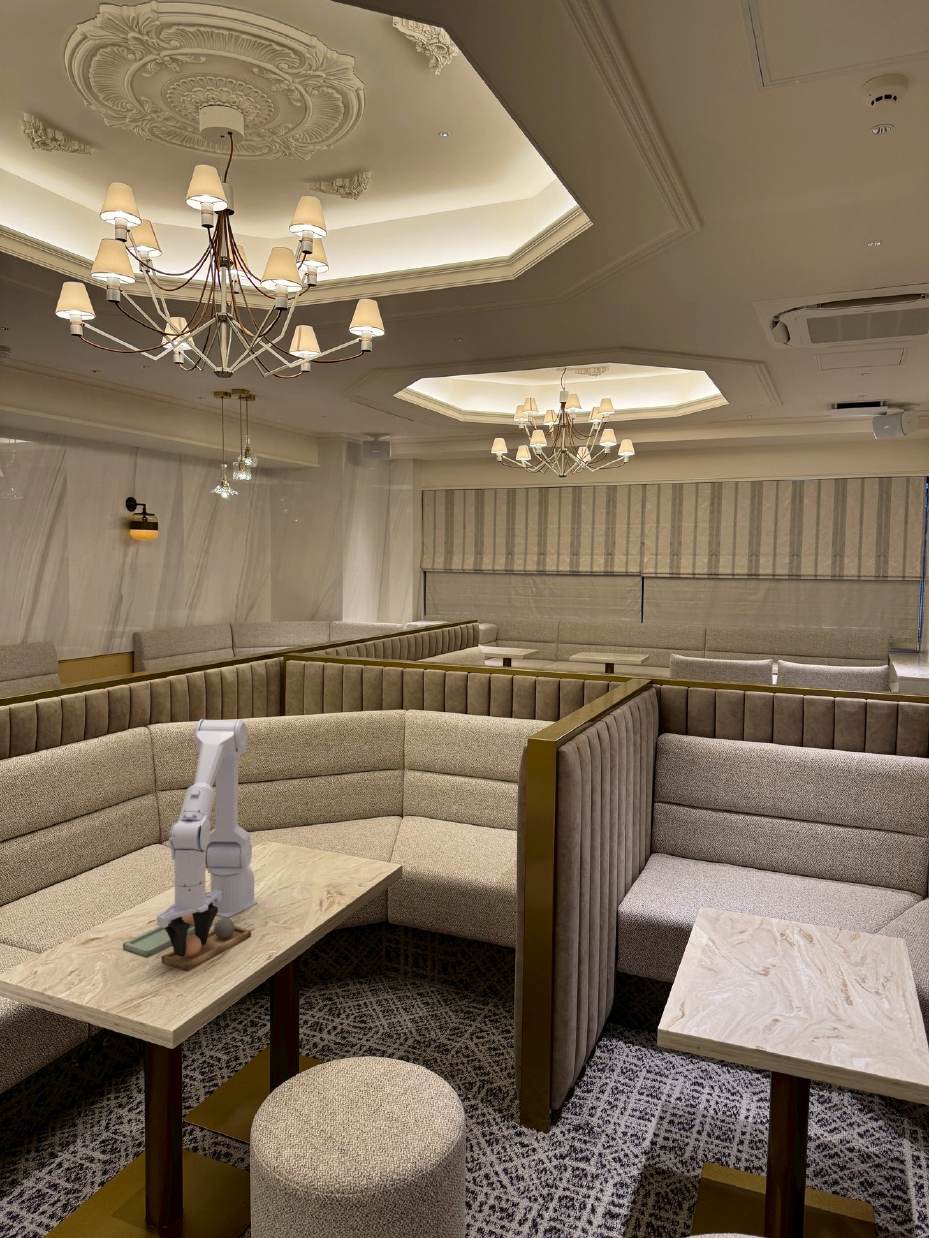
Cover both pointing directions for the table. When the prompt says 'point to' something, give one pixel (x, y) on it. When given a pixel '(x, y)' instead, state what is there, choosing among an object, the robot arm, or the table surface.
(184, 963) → the trough walnut
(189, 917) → the terracotta ball
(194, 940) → the terracotta ball
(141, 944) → the trough green
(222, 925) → the charcoal ball
